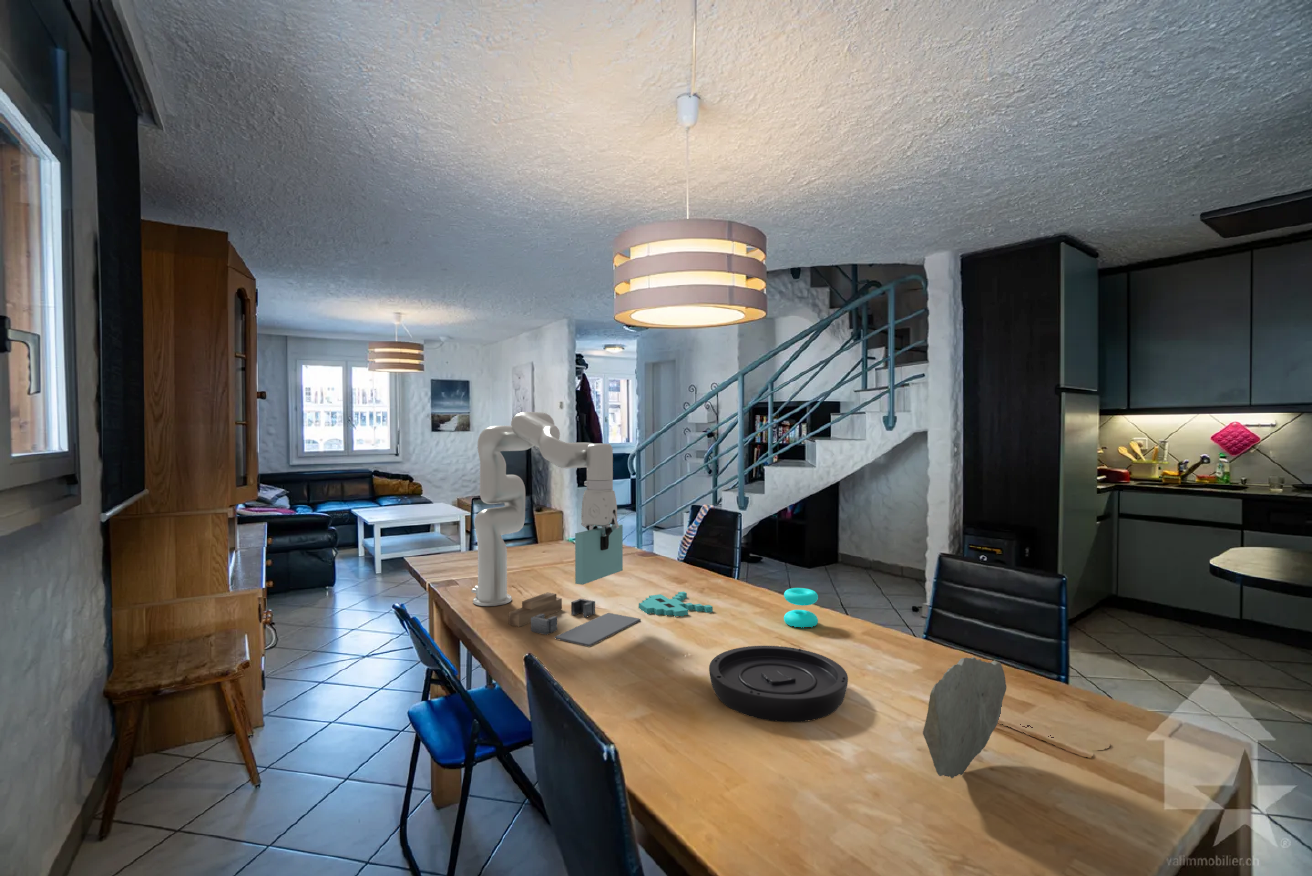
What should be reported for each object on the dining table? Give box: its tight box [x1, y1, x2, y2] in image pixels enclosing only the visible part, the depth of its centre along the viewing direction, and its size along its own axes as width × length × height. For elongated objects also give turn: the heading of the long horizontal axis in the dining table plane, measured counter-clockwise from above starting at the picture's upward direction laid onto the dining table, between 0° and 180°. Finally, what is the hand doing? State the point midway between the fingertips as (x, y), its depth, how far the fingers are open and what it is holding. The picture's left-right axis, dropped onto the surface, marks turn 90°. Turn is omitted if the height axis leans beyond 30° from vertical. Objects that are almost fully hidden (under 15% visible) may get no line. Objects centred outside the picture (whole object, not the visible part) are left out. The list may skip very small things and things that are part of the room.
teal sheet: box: [574, 523, 624, 585], centre depth 178 cm, size 2×20×14 cm, turn 150°
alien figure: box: [638, 591, 714, 618], centre depth 201 cm, size 20×2×20 cm
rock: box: [922, 656, 1007, 779], centre depth 104 cm, size 27×6×20 cm, turn 135°
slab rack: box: [530, 598, 596, 636], centre depth 185 cm, size 6×23×4 cm, turn 150°
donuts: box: [783, 587, 819, 629], centre depth 184 cm, size 10×10×10 cm
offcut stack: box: [508, 591, 563, 628], centre depth 190 cm, size 4×20×6 cm, turn 150°
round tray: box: [708, 645, 849, 723], centre depth 136 cm, size 30×6×30 cm
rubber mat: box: [554, 612, 641, 647], centre depth 178 cm, size 12×26×1 cm, turn 150°
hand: (599, 548), depth 178 cm, fingers closed on teal sheet, 2 cm apart
